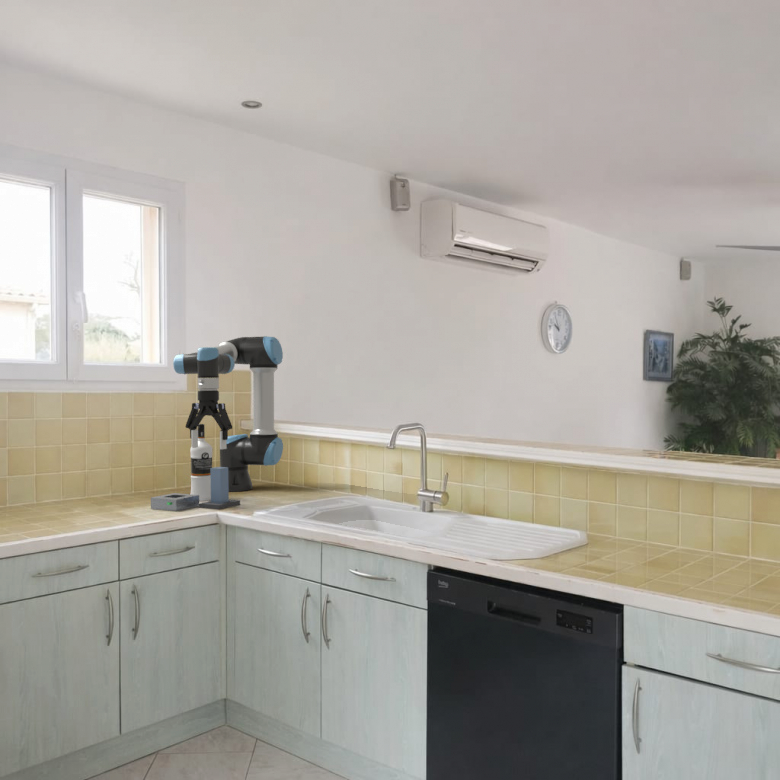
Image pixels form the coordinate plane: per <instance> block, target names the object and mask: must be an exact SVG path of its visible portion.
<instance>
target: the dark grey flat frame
mask: <svg viewBox="0 0 780 780" xmlns="http://www.w3.org/2000/svg"><path fill="white" fill-rule="evenodd" d="M240 505H241V500H238V499H229V502H226V503H221V504H219V503H211V500H209V501H203V502H201V503H200V502H199V506H198V509H206V510H207V509H210V510H217V511H218V510H219V511H220V510H223V509H228V508H232V507H236V506H240Z"/></svg>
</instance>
